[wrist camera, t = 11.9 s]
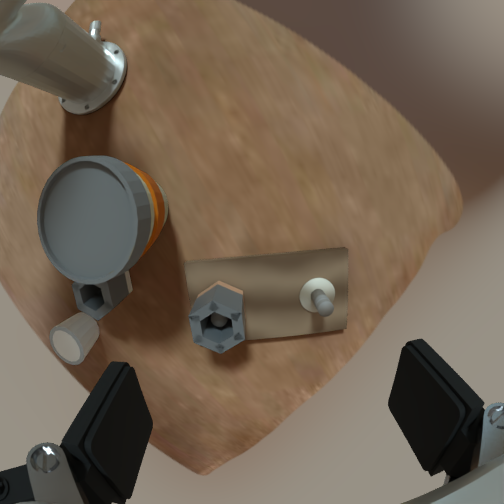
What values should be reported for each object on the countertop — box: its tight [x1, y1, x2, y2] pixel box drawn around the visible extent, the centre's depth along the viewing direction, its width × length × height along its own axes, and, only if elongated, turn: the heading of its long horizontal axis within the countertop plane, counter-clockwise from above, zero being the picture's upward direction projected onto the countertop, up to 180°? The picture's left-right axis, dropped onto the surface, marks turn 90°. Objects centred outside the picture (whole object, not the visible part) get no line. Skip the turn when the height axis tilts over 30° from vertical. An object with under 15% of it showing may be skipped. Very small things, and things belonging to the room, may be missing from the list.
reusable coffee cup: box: [37, 156, 168, 284], centre depth 30 cm, size 13×12×15 cm
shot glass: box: [49, 312, 100, 365], centre depth 38 cm, size 7×7×7 cm
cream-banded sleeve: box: [72, 270, 133, 321], centre depth 36 cm, size 7×6×7 cm
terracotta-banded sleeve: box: [189, 281, 246, 353], centre depth 35 cm, size 7×6×7 cm
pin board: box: [184, 247, 348, 340], centre depth 37 cm, size 12×22×6 cm, turn 95°
